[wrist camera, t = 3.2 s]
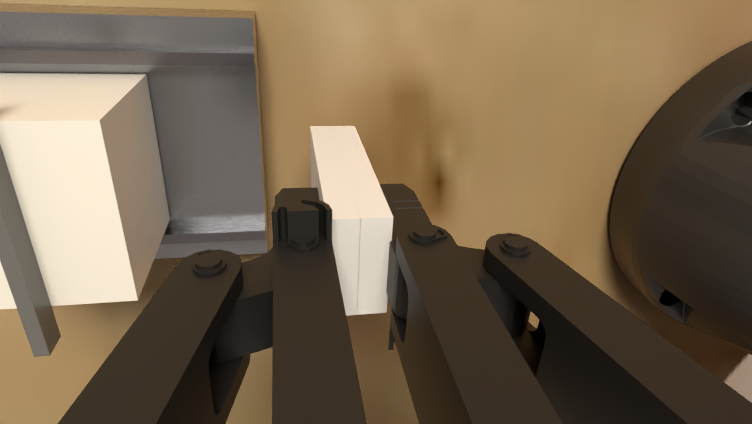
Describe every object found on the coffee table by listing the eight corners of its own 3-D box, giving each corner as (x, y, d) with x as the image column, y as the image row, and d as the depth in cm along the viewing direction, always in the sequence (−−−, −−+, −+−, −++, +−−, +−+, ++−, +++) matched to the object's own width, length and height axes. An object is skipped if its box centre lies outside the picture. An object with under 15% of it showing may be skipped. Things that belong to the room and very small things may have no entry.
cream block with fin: (140, 38, 16) (77, 82, 11) (174, 243, 19) (137, 348, 14) (-37, 35, 15) (-195, 80, 10) (31, 250, 19) (-60, 364, 14)
